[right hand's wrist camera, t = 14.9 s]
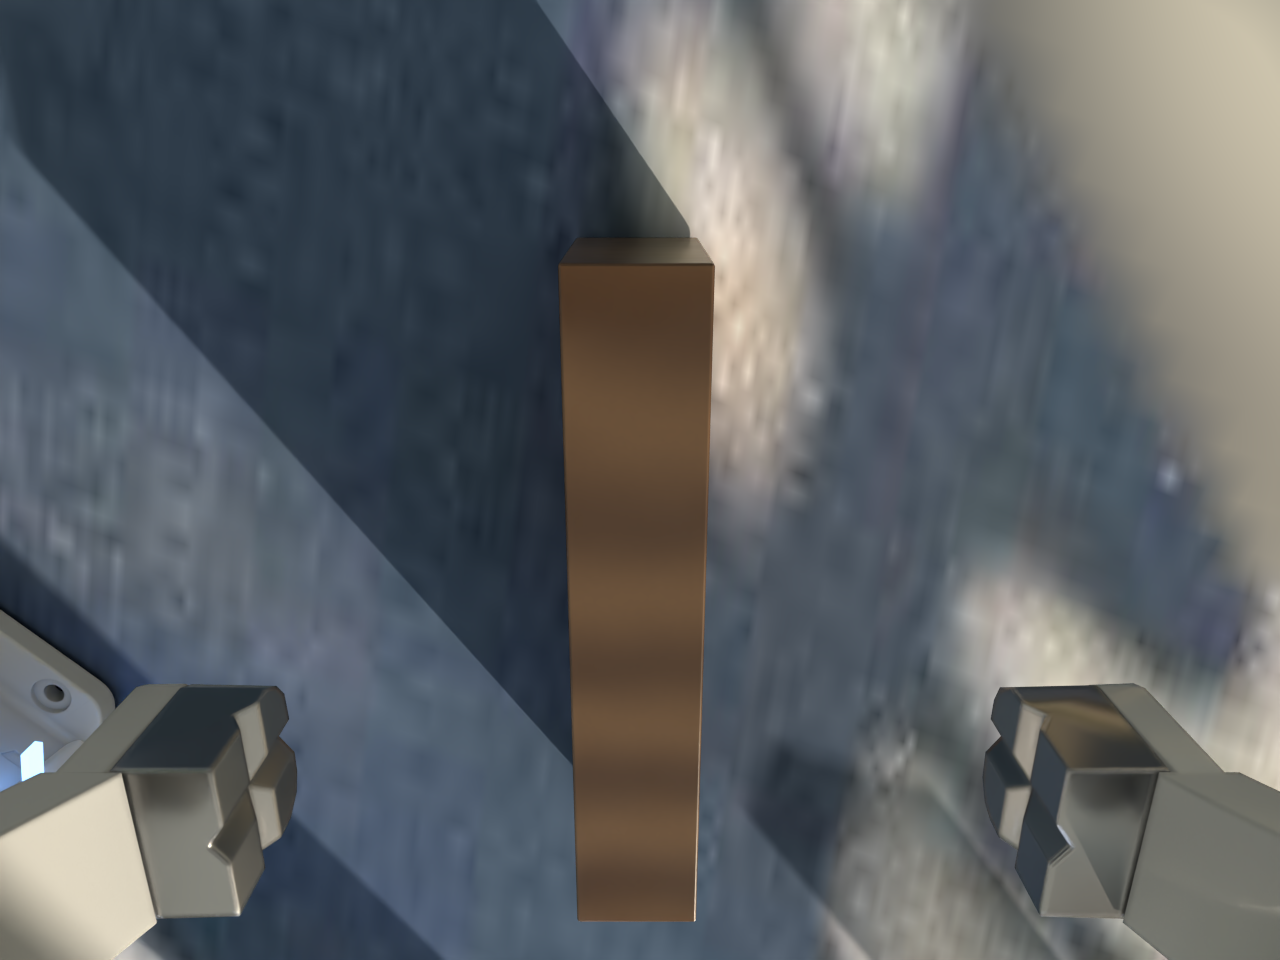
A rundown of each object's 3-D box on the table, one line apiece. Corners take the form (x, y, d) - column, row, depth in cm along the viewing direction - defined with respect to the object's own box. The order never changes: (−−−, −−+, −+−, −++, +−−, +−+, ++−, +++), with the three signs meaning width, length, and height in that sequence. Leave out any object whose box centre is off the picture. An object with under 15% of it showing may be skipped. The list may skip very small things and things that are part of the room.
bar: (575, 237, 33) (557, 262, 26) (698, 237, 33) (715, 263, 26) (588, 784, 42) (577, 922, 35) (685, 784, 42) (695, 922, 35)
